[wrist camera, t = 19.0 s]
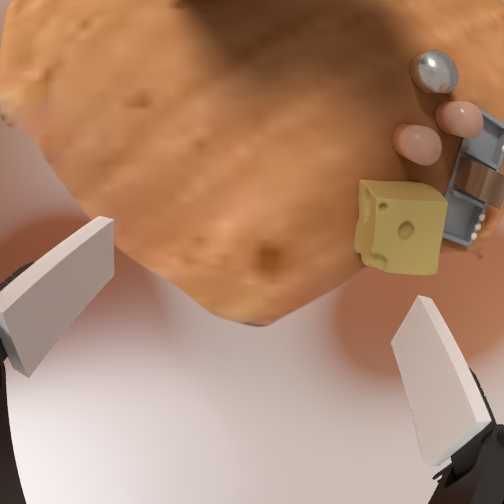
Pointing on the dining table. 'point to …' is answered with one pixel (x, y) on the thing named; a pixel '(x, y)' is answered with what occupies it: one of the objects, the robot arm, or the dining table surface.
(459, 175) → the walnut post
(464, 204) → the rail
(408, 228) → the cheese
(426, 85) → the chrome metal ball
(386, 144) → the dining table surface
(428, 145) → the brown egg
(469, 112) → the pale pink egg
